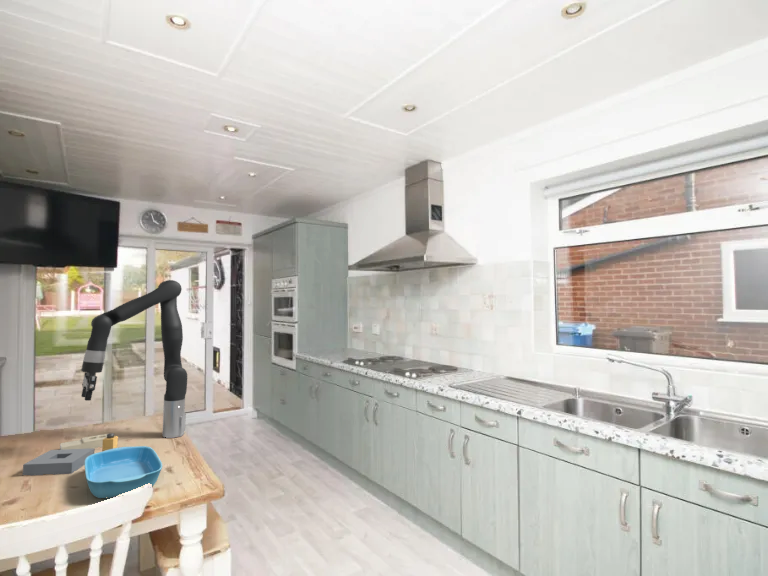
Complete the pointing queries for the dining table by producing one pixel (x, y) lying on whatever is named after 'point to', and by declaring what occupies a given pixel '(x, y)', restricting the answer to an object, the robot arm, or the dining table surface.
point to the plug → (110, 442)
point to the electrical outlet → (84, 443)
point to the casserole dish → (121, 470)
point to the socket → (57, 462)
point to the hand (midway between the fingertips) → (85, 398)
